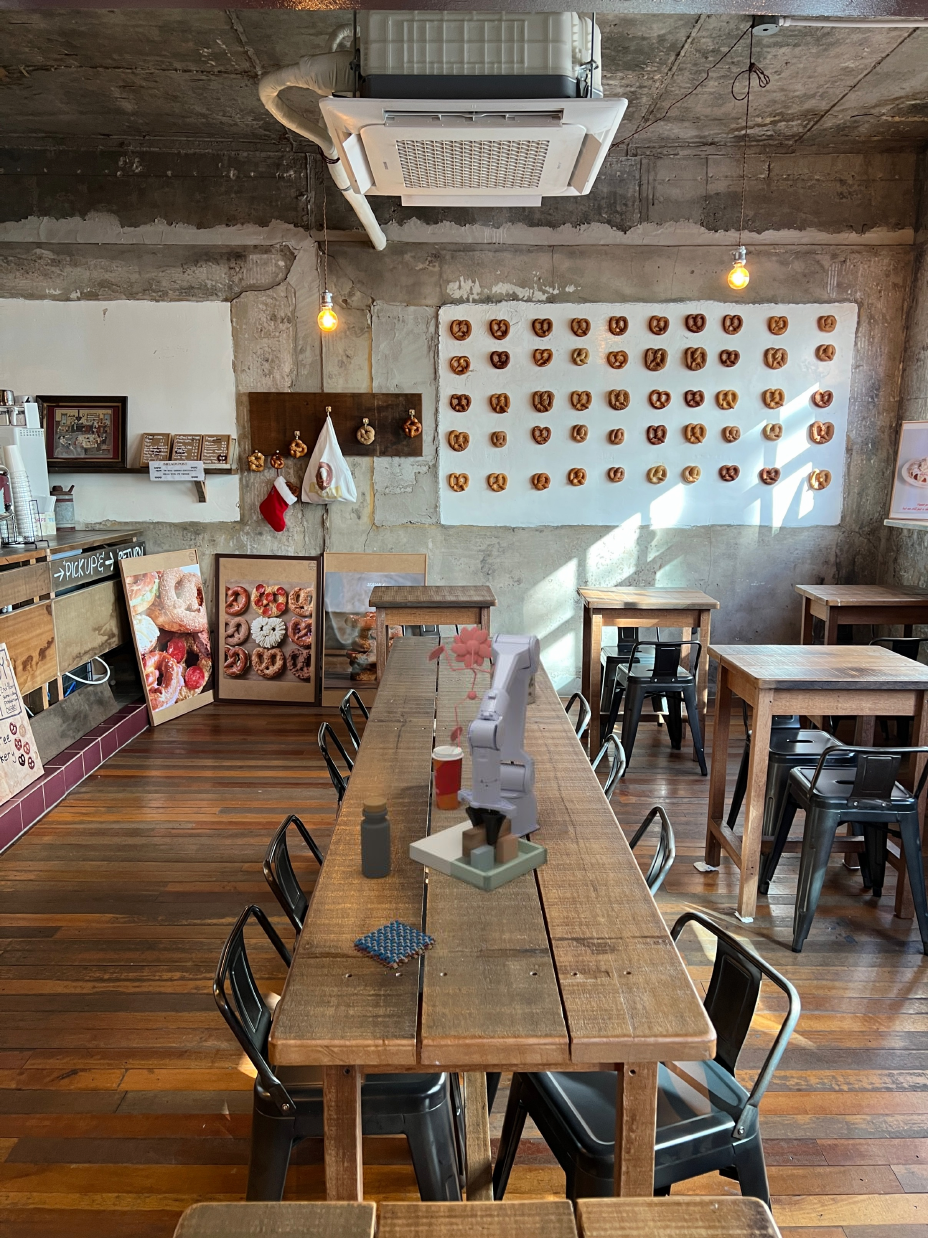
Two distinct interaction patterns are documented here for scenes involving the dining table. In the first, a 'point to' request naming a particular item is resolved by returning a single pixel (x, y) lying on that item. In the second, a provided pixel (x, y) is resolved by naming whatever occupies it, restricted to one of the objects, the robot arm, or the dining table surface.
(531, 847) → the tray
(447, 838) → the bench
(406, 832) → the dining table surface
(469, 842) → the bar
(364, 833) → the bottle
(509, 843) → the tile
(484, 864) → the tile
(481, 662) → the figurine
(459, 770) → the paper cup
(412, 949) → the woven mat
